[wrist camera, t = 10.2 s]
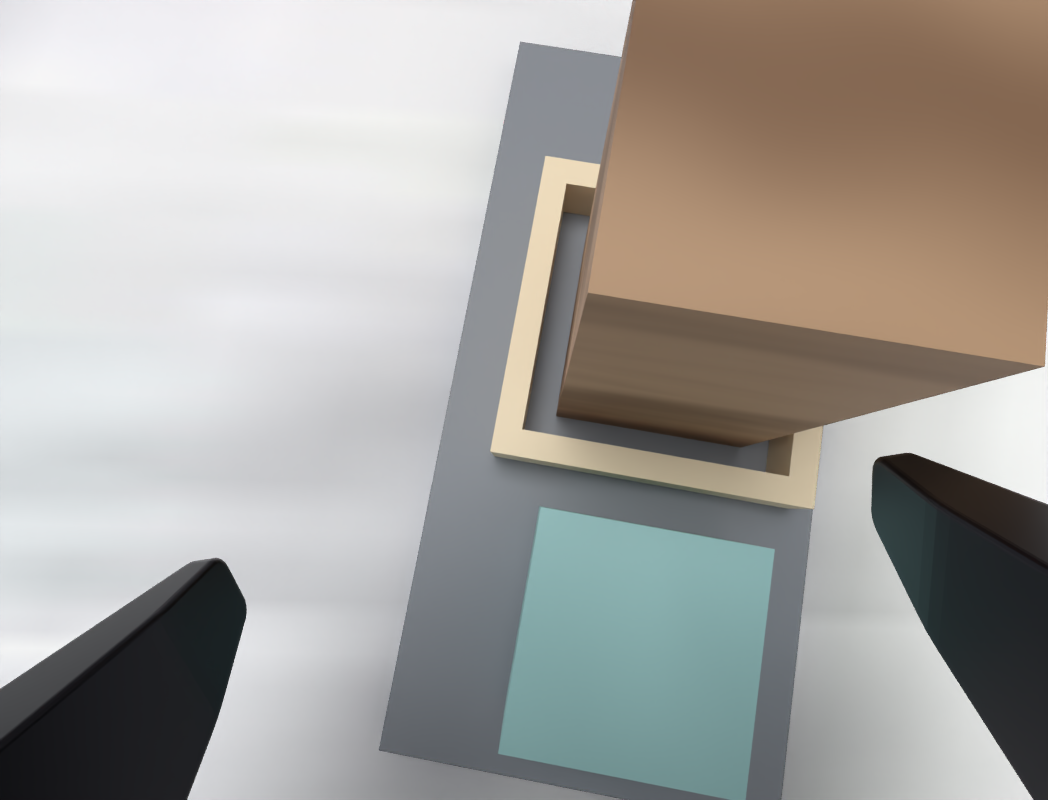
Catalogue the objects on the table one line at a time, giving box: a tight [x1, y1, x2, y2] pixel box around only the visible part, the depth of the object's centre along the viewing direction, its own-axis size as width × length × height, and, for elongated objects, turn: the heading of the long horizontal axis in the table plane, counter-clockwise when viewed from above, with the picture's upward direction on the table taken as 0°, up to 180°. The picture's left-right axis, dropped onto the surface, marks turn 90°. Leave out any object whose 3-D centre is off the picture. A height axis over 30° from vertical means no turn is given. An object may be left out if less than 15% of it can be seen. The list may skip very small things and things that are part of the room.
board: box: [379, 42, 823, 800], centre depth 20 cm, size 24×12×5 cm, turn 170°
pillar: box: [556, 0, 1048, 447], centre depth 15 cm, size 6×6×12 cm
